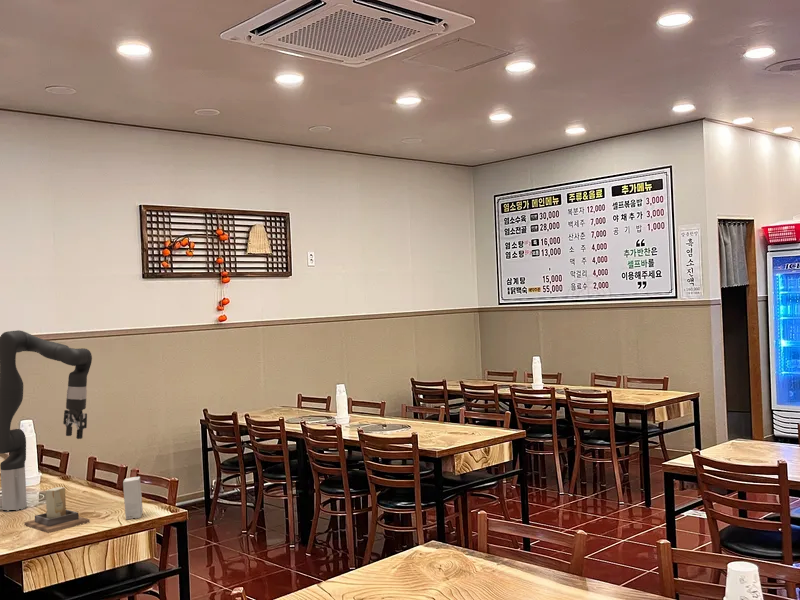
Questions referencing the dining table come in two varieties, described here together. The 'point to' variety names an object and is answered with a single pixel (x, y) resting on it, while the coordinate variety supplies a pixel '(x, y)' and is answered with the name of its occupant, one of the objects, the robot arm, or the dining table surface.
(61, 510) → the skincare box
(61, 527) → the collar board
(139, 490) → the skincare box
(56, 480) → the dining table surface
